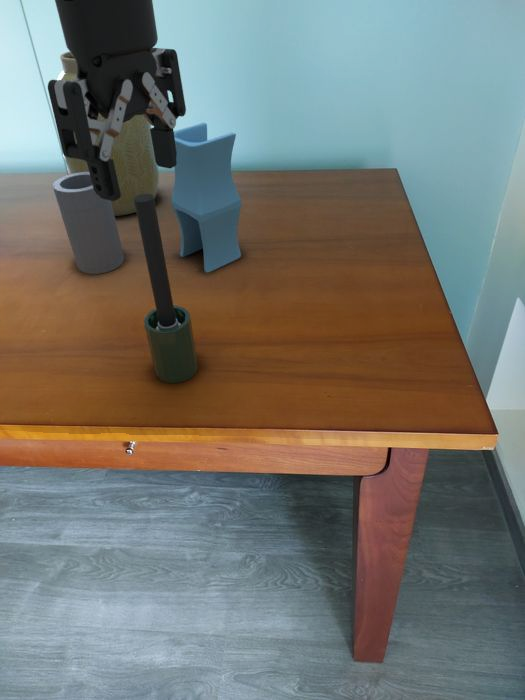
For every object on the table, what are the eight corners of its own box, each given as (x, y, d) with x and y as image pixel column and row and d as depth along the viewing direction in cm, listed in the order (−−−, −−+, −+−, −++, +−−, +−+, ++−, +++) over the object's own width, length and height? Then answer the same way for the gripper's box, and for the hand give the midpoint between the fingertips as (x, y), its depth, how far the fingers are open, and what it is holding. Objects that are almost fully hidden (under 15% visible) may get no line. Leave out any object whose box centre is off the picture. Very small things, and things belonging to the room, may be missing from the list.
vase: (86, 228, 99) (42, 69, 81) (72, 195, 111) (31, 50, 94) (174, 209, 104) (150, 55, 86) (151, 179, 116) (126, 39, 99)
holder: (181, 388, 64) (171, 337, 59) (146, 374, 67) (134, 324, 62) (206, 362, 68) (198, 312, 63) (172, 350, 70) (163, 300, 65)
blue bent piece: (244, 255, 89) (236, 133, 76) (207, 273, 85) (192, 147, 72) (216, 239, 93) (204, 122, 81) (179, 255, 90) (160, 134, 77)
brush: (178, 377, 65) (145, 207, 51) (158, 369, 67) (120, 201, 52) (193, 362, 67) (166, 194, 53) (173, 354, 69) (141, 189, 54)
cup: (102, 278, 85) (79, 195, 76) (67, 267, 88) (41, 186, 79) (133, 256, 90) (115, 176, 81) (99, 246, 93) (79, 168, 84)
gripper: (124, -29, 47) (155, 152, 58) (-7, -9, 38) (58, 203, 48) (192, -29, 44) (212, 162, 55) (68, -7, 35) (120, 219, 45)
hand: (139, 181), depth 52 cm, fingers open, 8 cm apart
